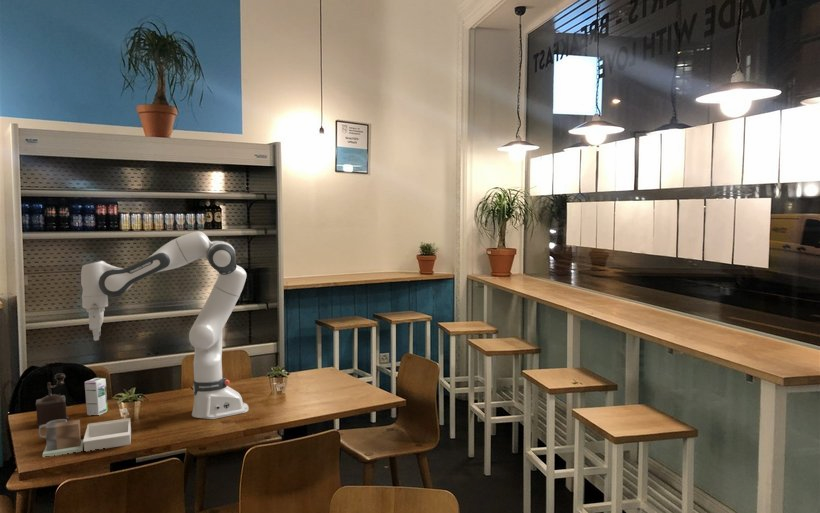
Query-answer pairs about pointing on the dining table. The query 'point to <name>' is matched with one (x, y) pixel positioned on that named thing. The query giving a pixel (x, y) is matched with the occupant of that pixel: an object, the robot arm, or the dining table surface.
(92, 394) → the syrup box
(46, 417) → the pepper mill
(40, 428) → the mug
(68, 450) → the green board
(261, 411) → the dining table surface
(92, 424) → the tray
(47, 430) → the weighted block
